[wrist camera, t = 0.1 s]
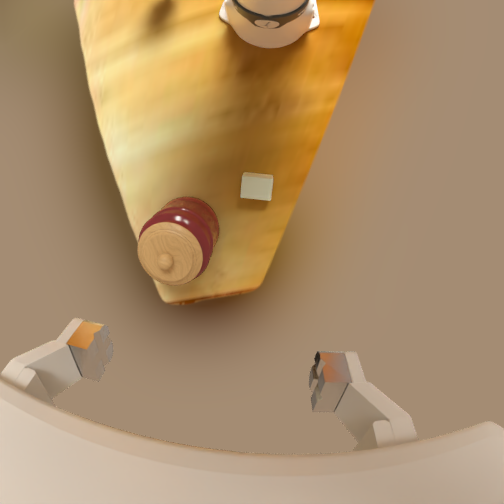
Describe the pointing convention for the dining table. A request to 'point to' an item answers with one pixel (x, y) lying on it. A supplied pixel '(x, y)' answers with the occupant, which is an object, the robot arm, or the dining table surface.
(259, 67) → the dining table surface
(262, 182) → the sage block
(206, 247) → the canister
